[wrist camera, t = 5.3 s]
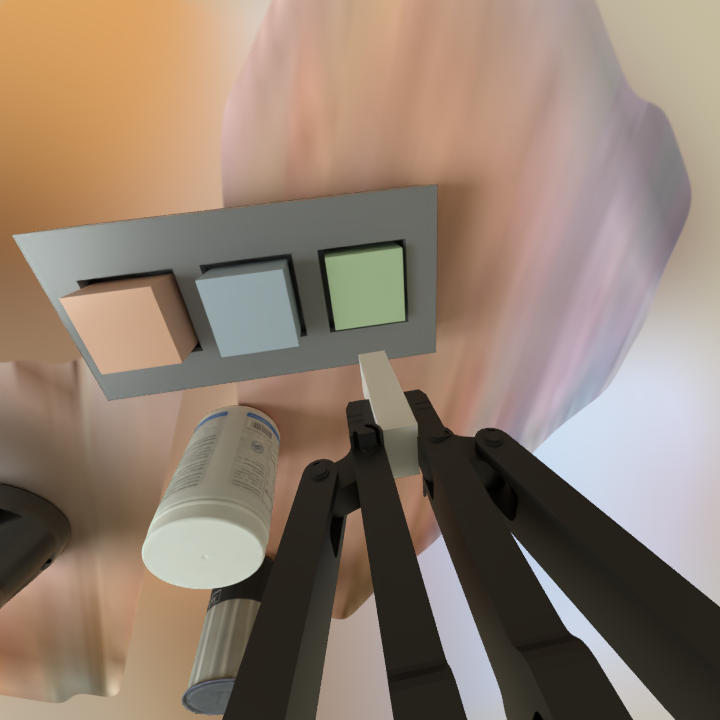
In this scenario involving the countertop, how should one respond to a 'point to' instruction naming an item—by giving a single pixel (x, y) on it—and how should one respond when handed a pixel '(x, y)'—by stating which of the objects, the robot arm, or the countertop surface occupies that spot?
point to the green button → (366, 284)
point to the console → (249, 245)
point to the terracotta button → (132, 323)
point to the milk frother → (224, 642)
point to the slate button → (251, 307)
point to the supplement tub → (217, 503)
